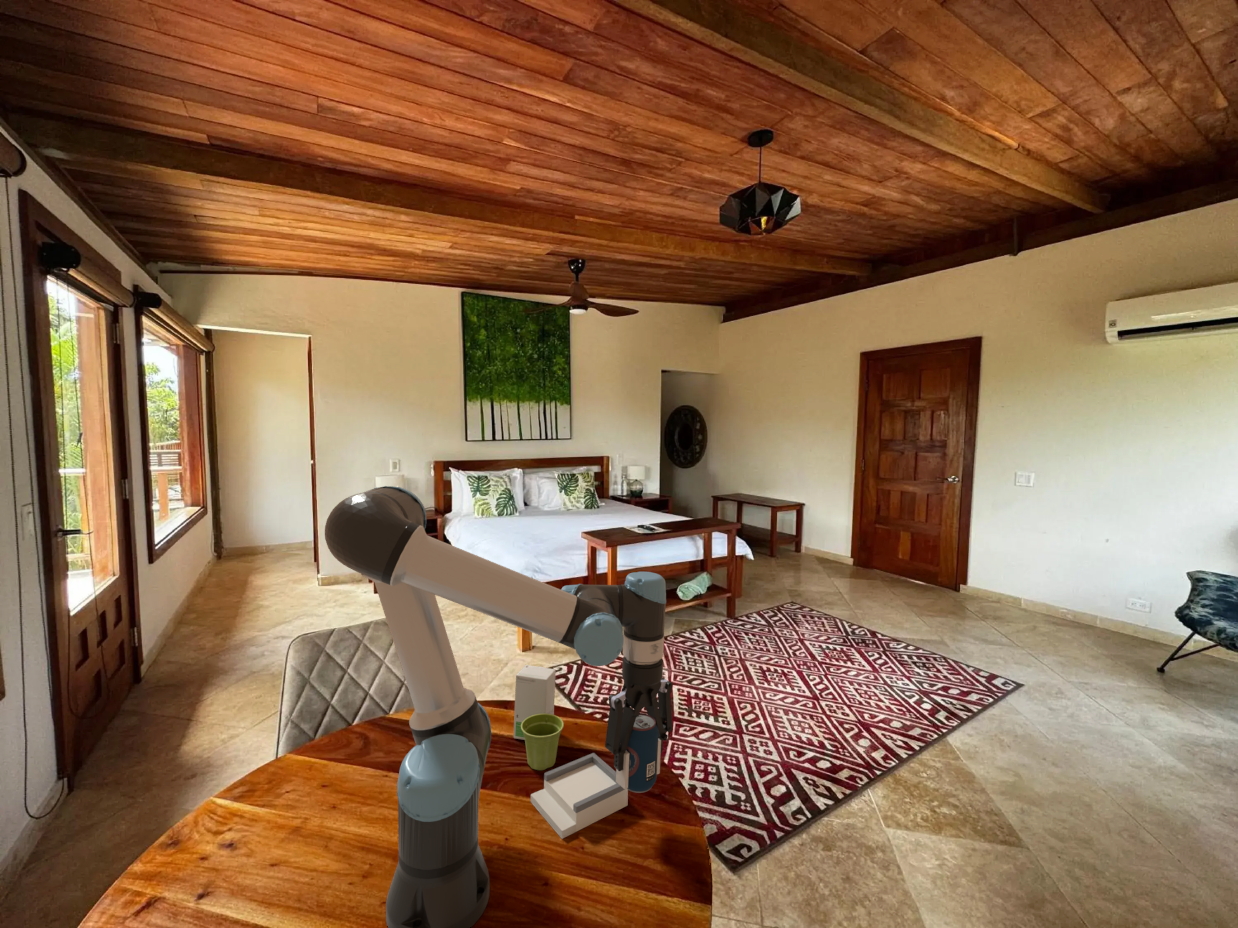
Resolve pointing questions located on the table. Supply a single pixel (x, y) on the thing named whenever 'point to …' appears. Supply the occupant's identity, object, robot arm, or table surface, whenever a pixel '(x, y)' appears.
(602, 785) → the dock
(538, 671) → the skincare box
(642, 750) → the soda can
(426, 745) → the robot arm
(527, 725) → the plant pot
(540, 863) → the table surface
